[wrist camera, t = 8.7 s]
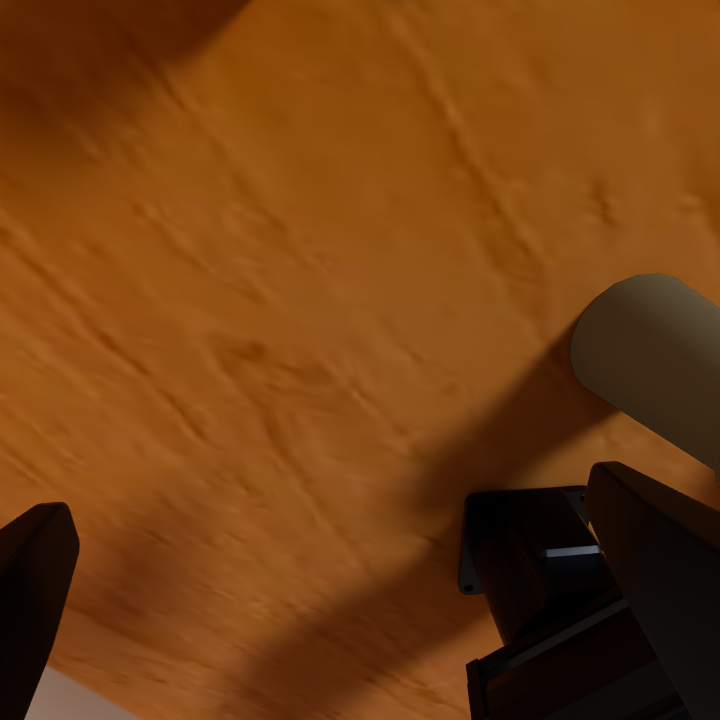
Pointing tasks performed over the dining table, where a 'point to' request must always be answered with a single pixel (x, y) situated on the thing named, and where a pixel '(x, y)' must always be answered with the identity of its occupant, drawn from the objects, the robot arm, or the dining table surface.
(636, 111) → the dining table surface
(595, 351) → the cork
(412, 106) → the dining table surface
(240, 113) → the dining table surface
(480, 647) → the dining table surface
